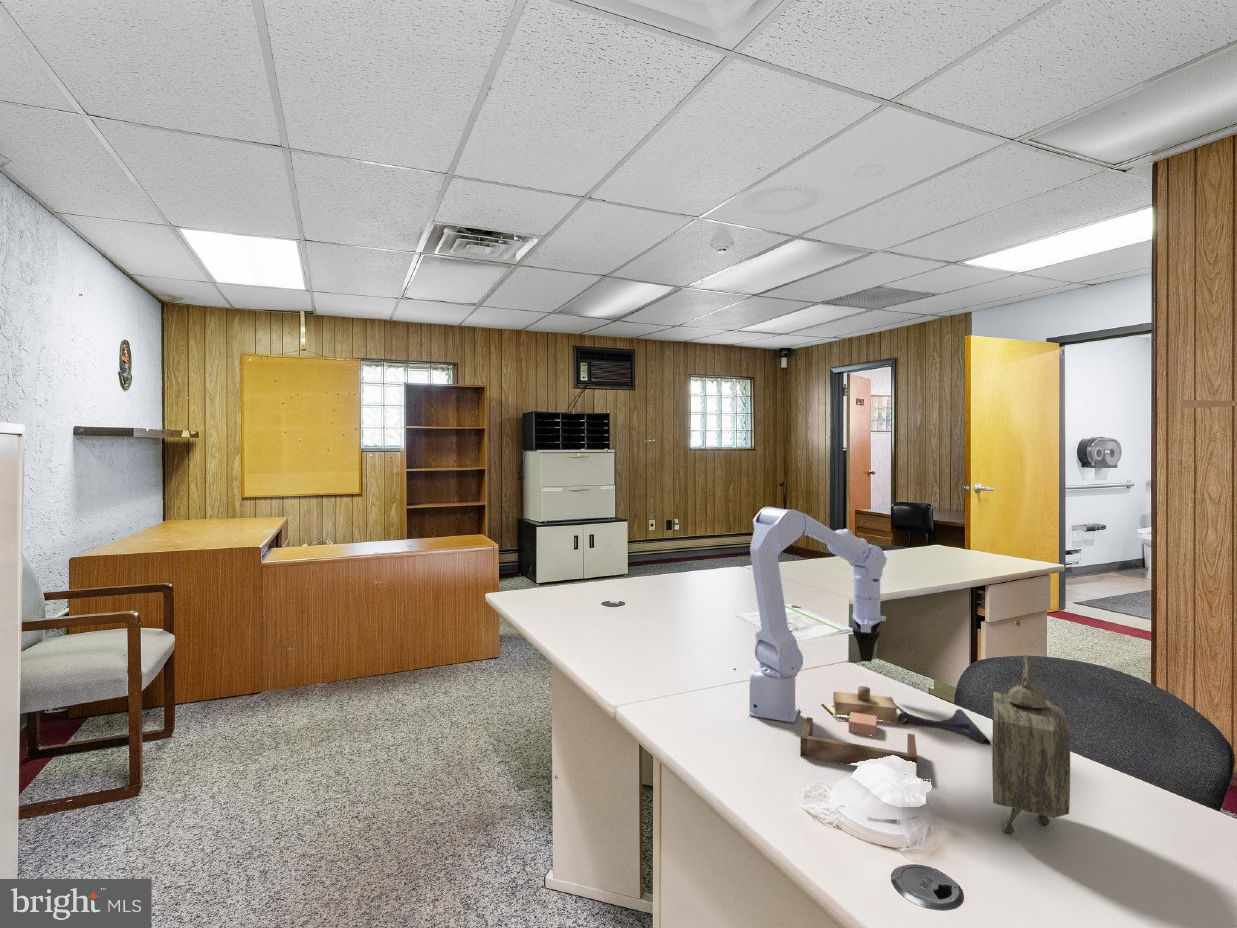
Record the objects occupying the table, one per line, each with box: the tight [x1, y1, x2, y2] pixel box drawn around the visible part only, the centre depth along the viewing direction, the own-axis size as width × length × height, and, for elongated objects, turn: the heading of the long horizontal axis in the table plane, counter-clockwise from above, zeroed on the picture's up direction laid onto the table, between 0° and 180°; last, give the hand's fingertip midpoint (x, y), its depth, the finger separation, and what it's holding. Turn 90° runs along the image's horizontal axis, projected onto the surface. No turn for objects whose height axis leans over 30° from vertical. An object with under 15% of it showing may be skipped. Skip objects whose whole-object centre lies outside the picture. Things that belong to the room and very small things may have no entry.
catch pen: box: [799, 716, 918, 765], centre depth 115 cm, size 19×10×4 cm, turn 67°
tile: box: [848, 712, 877, 737], centre depth 126 cm, size 5×5×2 cm
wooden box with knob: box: [832, 685, 897, 724], centre depth 133 cm, size 12×6×6 cm, turn 74°
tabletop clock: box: [991, 654, 1071, 836], centre depth 94 cm, size 14×9×25 cm, turn 150°
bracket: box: [897, 708, 992, 746], centre depth 127 cm, size 14×15×3 cm
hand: (866, 655), depth 142 cm, fingers open, 7 cm apart
